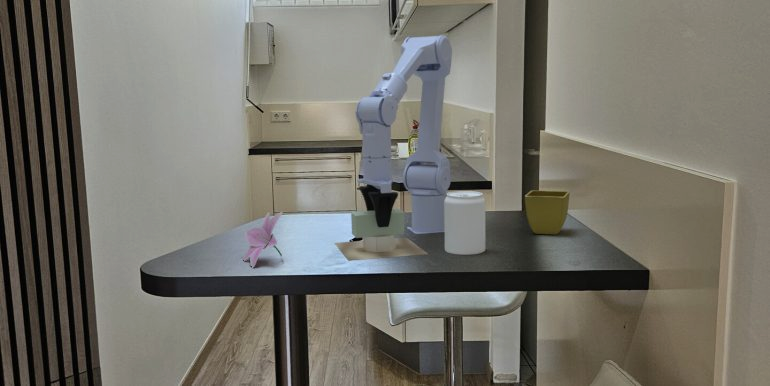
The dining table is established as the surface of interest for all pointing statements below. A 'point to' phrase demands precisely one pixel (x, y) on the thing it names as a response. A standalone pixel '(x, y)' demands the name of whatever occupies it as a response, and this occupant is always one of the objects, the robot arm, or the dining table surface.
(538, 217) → the flower pot
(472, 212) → the beverage can
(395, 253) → the mat
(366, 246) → the white octagonal prism
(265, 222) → the lily
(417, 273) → the dining table surface
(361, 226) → the green rectangular block
